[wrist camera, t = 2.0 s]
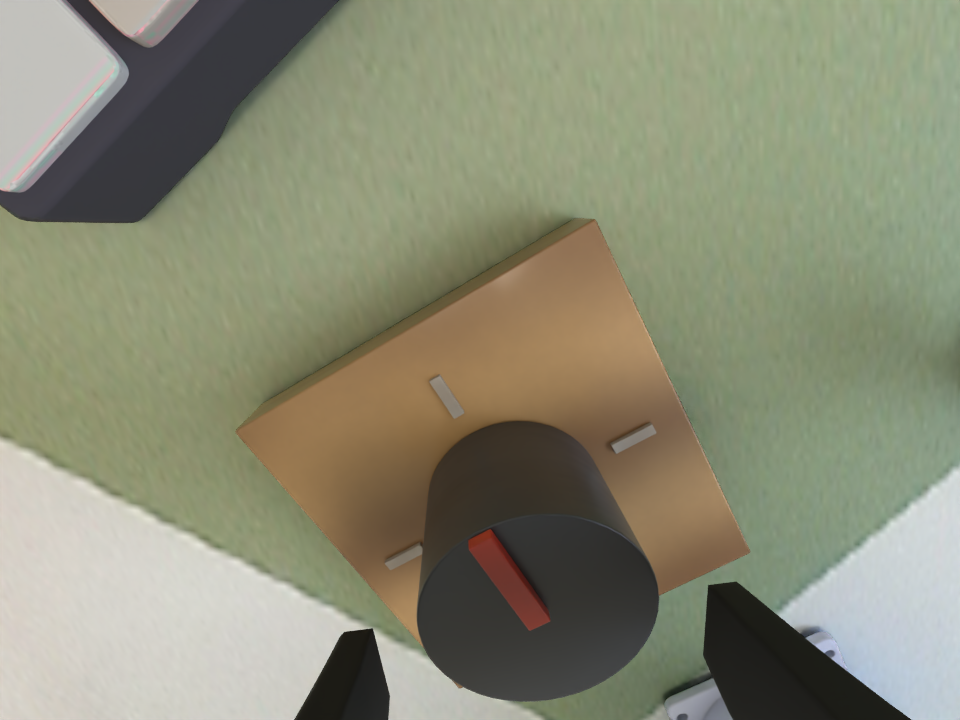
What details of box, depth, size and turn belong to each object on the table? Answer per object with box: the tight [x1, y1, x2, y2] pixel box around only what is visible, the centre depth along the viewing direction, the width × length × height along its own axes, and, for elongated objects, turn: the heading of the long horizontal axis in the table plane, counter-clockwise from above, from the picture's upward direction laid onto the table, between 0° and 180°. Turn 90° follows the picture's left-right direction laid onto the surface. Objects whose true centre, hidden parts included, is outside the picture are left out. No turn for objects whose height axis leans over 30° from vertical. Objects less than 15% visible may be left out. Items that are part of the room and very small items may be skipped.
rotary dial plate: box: [235, 218, 750, 688], centre depth 15 cm, size 13×12×2 cm
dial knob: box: [417, 421, 659, 702], centre depth 12 cm, size 6×6×5 cm
